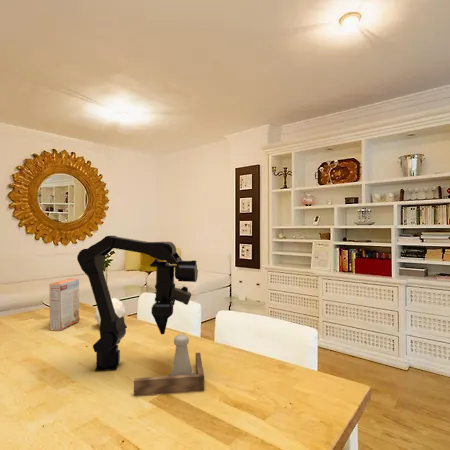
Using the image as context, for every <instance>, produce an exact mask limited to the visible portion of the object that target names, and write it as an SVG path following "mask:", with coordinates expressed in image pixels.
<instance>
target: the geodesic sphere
mask: <svg viewBox="0 0 450 450" xmlns="http://www.w3.org/2000/svg"><path fill="white" fill-rule="evenodd" d="M111 300H112V303H113V307H114V310H115V313H116V315H117V316H118V317H119V318H120V317H122V316H123V317H124V318H125V317H126V310H127V309H126V307H125V304H124V303H123V302H122V301H121V300H120V299H118V298H116V297H115V298H114V297H113V296H111ZM94 319H95V320H96V322H97V324H98V325H99V326H100V322H101V318H100V315H99V311H98V308H97V306H96V308H95V309H94Z"/></svg>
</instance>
